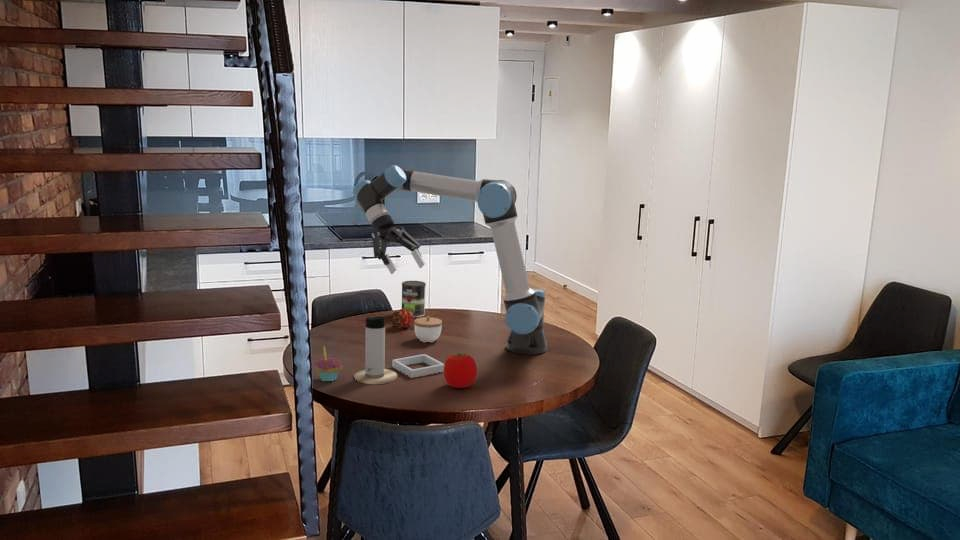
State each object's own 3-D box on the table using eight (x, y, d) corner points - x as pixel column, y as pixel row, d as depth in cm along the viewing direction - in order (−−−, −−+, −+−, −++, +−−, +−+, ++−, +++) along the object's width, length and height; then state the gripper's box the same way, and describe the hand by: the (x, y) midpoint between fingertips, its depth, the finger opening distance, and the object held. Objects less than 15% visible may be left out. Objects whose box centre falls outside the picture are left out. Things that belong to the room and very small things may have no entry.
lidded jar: (440, 345, 279) (441, 321, 277) (412, 343, 279) (412, 319, 277) (442, 336, 289) (443, 313, 287) (415, 335, 289) (415, 312, 287)
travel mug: (369, 379, 237) (369, 319, 233) (362, 373, 243) (362, 314, 239) (387, 377, 240) (388, 318, 236) (380, 371, 246) (381, 313, 242)
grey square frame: (424, 360, 260) (424, 354, 259) (444, 371, 249) (445, 364, 249) (392, 366, 252) (392, 359, 252) (411, 378, 242) (411, 370, 241)
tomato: (480, 391, 233) (481, 358, 230) (447, 393, 230) (448, 360, 227) (471, 379, 242) (472, 348, 240) (439, 381, 239) (440, 349, 237)
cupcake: (328, 385, 232) (328, 349, 230) (309, 380, 236) (308, 344, 234) (347, 378, 239) (347, 343, 237) (328, 373, 244) (327, 338, 241)
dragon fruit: (394, 335, 294) (406, 331, 306) (411, 324, 292) (422, 321, 303) (384, 316, 295) (396, 314, 307) (400, 306, 293) (412, 304, 305)
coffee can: (419, 318, 314) (420, 286, 311) (397, 316, 317) (398, 284, 314) (428, 313, 324) (429, 281, 321) (406, 310, 327) (407, 279, 324)
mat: (405, 375, 244) (405, 373, 244) (380, 387, 232) (380, 385, 232) (371, 367, 251) (371, 365, 251) (345, 378, 239) (345, 377, 239)
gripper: (401, 222, 274) (428, 269, 268) (347, 229, 255) (375, 280, 250) (411, 210, 269) (439, 257, 263) (357, 216, 251) (386, 268, 245)
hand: (408, 268), depth 256 cm, fingers open, 13 cm apart
